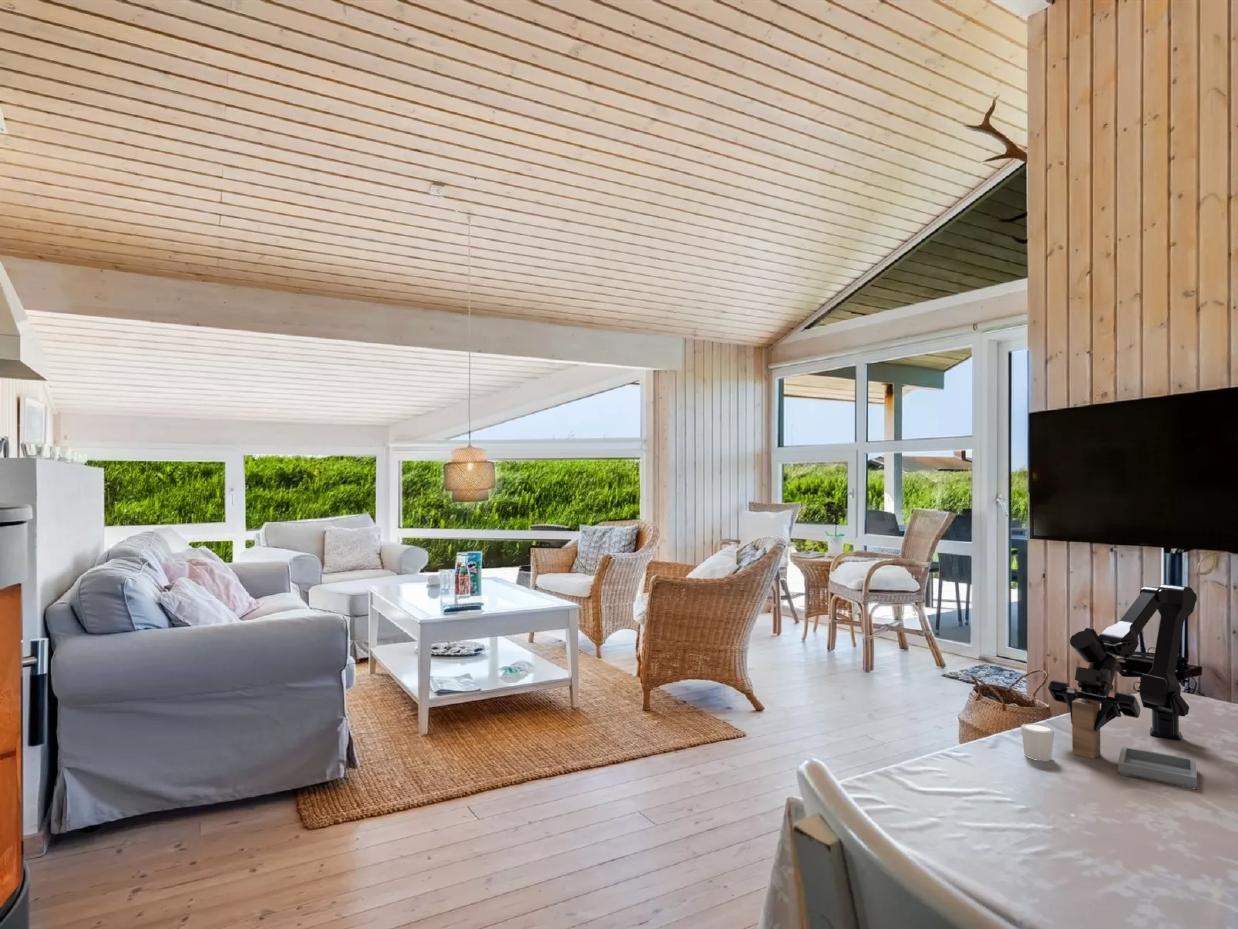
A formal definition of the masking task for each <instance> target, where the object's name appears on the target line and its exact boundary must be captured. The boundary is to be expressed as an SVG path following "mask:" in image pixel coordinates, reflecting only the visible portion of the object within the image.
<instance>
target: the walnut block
mask: <svg viewBox="0 0 1238 929" xmlns="http://www.w3.org/2000/svg"><path fill="white" fill-rule="evenodd" d="M1100 709H1101V703H1100V702H1096V701H1091V700H1086V699H1081V698H1078V699H1076V700H1074V701H1072V723H1071V730H1072V732H1071V733H1072V734H1071V736H1072V737H1071V738H1072V739H1071V740H1072V744H1071V745H1072V748H1071V749H1072V754H1074V755H1077V754H1078V756H1081V757H1082V756H1083V757H1084V758H1085V757H1086V758H1089V757H1090V759H1095V758H1097V757H1099V756H1100V755H1101V728H1100V729H1099V730H1098V731H1095V730H1094V725H1095V722H1096V719H1097V716H1098V714H1099V711H1100Z"/></svg>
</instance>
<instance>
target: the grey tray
mask: <svg viewBox="0 0 1238 929" xmlns="http://www.w3.org/2000/svg"><path fill="white" fill-rule="evenodd" d="M1119 753H1120V754H1119V756H1118V757H1119V758H1118V761H1117V774H1118V775H1120V776H1121V775H1122V776H1127V777H1131V778H1136V779H1140V780H1147V781H1151V782H1156V783H1162V784H1166V785H1170V784H1173V785H1172V786H1175V785H1179V786H1178V787H1180V786H1184V787H1183V788H1186V787H1188V788H1187V789H1191V788H1195V789H1194V790H1196V789H1197V790H1198V776H1197V759H1195V758H1189V757H1184V756H1178V755H1172V754H1168V753H1167V754H1166V753H1161V752H1155V751H1149V750H1145V749H1144V750H1143V749H1140V748H1133V747H1128V746H1123V745H1122V746H1121V749H1120V752H1119Z"/></svg>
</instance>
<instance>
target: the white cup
mask: <svg viewBox="0 0 1238 929" xmlns="http://www.w3.org/2000/svg"><path fill="white" fill-rule="evenodd" d="M1020 728H1021V736H1022V744H1023V754H1025V755H1026V756H1028V757H1031V758H1033V759H1037V760H1042V761H1041V762H1050V761H1049V760H1051V761H1052V759H1053V758H1052V757H1053V756H1052V755H1053V747H1054V736H1055V729H1053V728H1052V727H1050V726H1047V725H1043V724H1038V723H1022V724H1021V725H1020ZM1025 755H1024V756H1025Z"/></svg>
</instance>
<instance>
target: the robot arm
mask: <svg viewBox="0 0 1238 929" xmlns="http://www.w3.org/2000/svg"><path fill="white" fill-rule="evenodd" d="M1197 600H1198V596H1197V594H1196V593H1195V591H1194V589H1192V588H1191V587H1190V586H1184V585H1176V584H1175V585H1173V584H1166V583H1163V584H1161V585H1160V586H1156V587H1154V586H1143V587H1141V589H1140V590H1139V595H1138V596H1137V598H1135V600H1134V601H1133V603H1132V604H1131V605H1130V606H1129V608H1128V609H1127V610H1126V612H1125V613H1124V615H1123V616H1122V617H1120V618H1121V619H1120V620H1118V621H1117V623H1115V624H1112V625H1109V626H1107V627H1106V628H1105V629H1104V630H1103V631H1102V632H1101V633H1100V634H1099V635H1098V633H1097V632H1096V630H1095V629H1094V628H1091V627H1085V628H1084V629H1083V630H1081V631H1078V632H1076V633H1074V634H1073V635H1071V637H1070V638H1069V644H1070V646H1071V647H1072V649H1074V651H1075V652H1076V653H1077V654H1078V655H1079V657H1080V658H1081V659H1082V661H1084V662H1086V663H1089V664H1088V666H1087V667H1088V668H1087V667H1082V666H1076V668H1075V674H1074V680H1075V681H1076V682H1077V687H1078V688H1080V689H1081V690H1080V689H1079V690H1078V689H1076V688H1075V687H1071V686H1070V684H1069V683H1068V682H1065V681H1059V680H1051V681H1050V682H1049V684H1048V685H1047V686H1048V687H1047V689H1048V691H1049V692H1050V695H1051V697H1052V700H1053V701H1055V702H1058V703H1063V704H1066V705H1067V706H1068V707H1069V711H1070V723H1071V724H1072V701H1074V700H1076V699H1078V698H1081V699H1086V700H1091V701H1096V702H1100V711H1099V714H1098V716H1097V719H1096V722H1095V725H1094V730H1095V731H1098V730H1099V729H1100V730H1101V728H1102V727H1104V726H1105V725H1106V724H1108V723H1109V722H1110V721H1112V720H1114V719H1116V718H1121V717H1122V714H1123V716H1124V717H1131V718H1136V719H1138V718H1139V717H1140V715H1141V707H1140V704H1139V702H1138V699H1137V697H1136V696H1135V695H1133V694H1129V693H1122V692H1118V691H1117V692H1115V694H1114V697H1112V696H1110V692H1111V691H1113V689H1114V685H1113V682H1114V678H1115V676H1116V673H1117V672H1122V671H1123V667H1122V666H1121V664H1120V663H1119V660H1117V659H1116V657H1118V658H1119V657H1120V658H1122V659H1123V658H1124V659H1129V658H1131V657H1132V656H1133V655H1134V654H1135V652H1136V650H1137V648H1138V646H1139V635H1140V633H1141V632H1142V630H1143V629H1144V628H1145V626H1146V625H1147V623H1149V621H1150V620H1151V619H1152V617H1153V615H1154V614H1155V613H1156V612H1157V611H1158V613H1159V615H1160V618H1159V624H1158V630H1157V637H1156V643H1155V649H1154V653H1153V654H1154V655H1153V659H1152V666H1151V670H1150V671H1148V672H1147V673H1146V674H1145V673H1142V674H1141V675H1140V683H1139V686H1138V689H1139V690H1138V693H1139V697H1140V701H1141V703H1142V707H1143V708H1144V709H1148V710H1149V709H1150V710H1151V727H1150V731H1149V735H1150V736H1154V737H1161V738H1165V739H1171V740H1179V741H1181V740H1182V732H1181V731H1180V717H1186V716H1188V715H1189V711H1190V706H1189V704H1188V703H1187V702H1186V701H1185V699H1184V698H1183V697H1182V696H1181V692H1182V690H1181V689H1182V688H1181V687H1182V686H1181V684H1180V682H1179V681H1178V678H1177V676H1176V670H1177V666H1178V658H1179V653H1180V647H1181V639H1182V634H1183V628H1184V622H1185V621H1186V619H1187V618H1189V616H1190V615H1192V614H1193V613H1194V609H1195V606H1196V603H1197Z"/></svg>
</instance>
